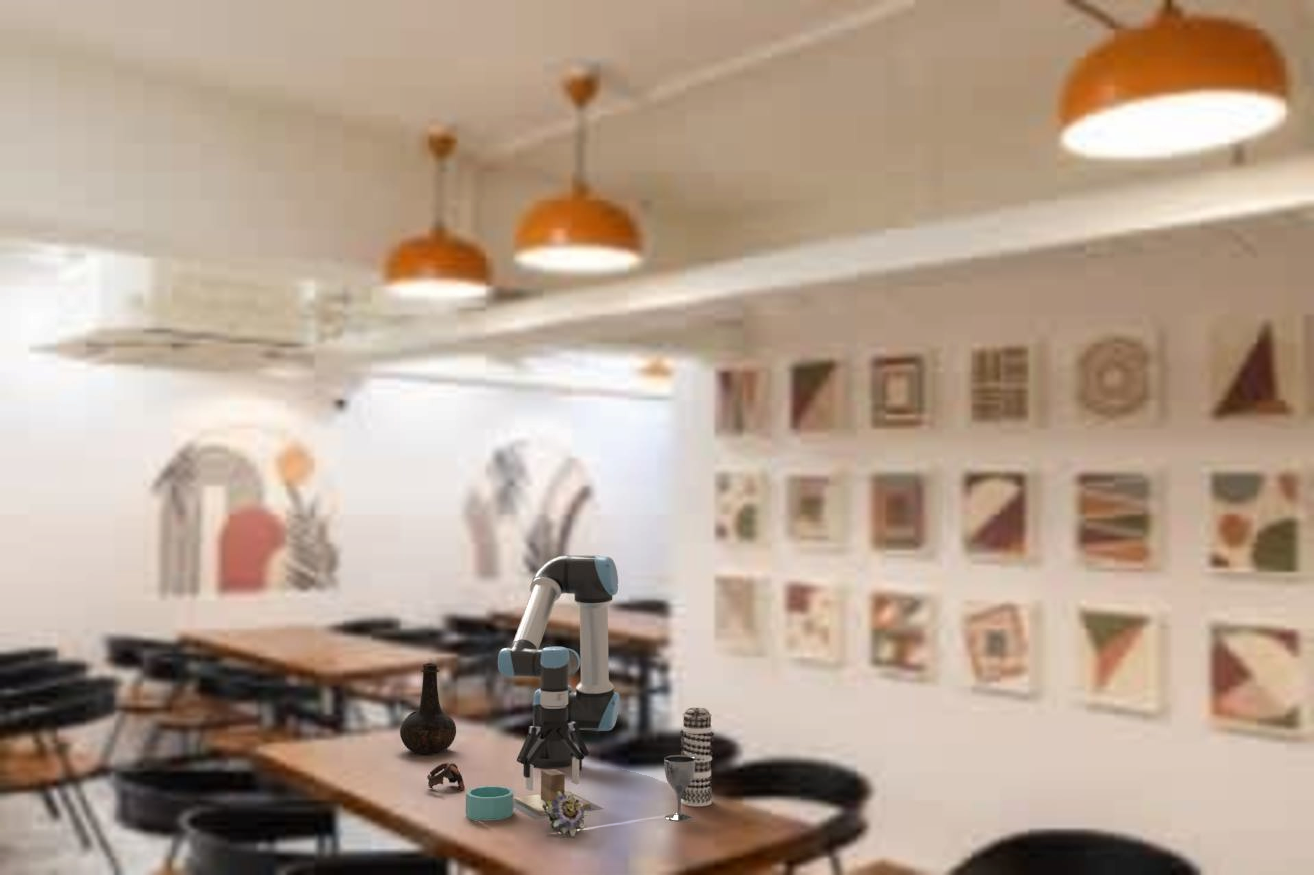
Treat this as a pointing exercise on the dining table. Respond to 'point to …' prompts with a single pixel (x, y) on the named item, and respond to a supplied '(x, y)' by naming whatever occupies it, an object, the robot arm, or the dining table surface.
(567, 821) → the passion flower
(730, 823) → the dining table surface
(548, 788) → the lid
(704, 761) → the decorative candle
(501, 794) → the bowl
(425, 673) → the glass bottle
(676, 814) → the wine glass
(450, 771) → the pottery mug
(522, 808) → the mat
